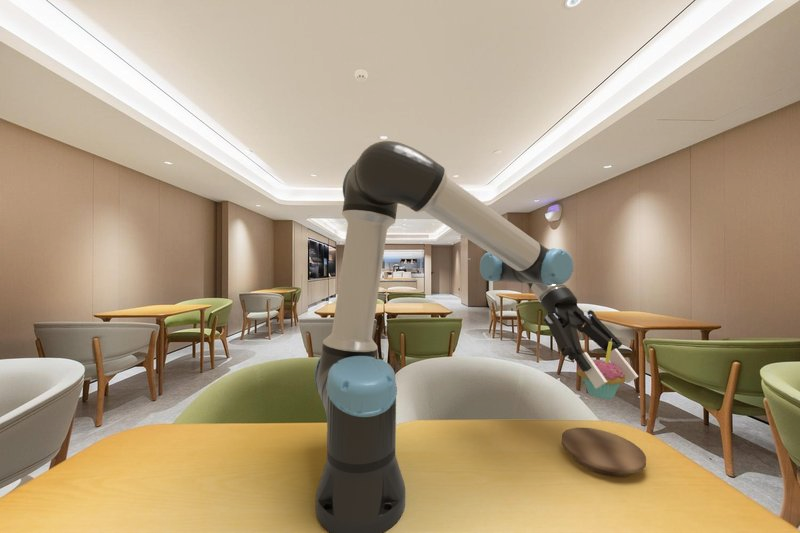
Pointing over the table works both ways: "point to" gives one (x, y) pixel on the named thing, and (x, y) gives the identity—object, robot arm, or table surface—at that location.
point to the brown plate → (603, 452)
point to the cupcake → (610, 374)
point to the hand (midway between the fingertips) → (617, 382)
